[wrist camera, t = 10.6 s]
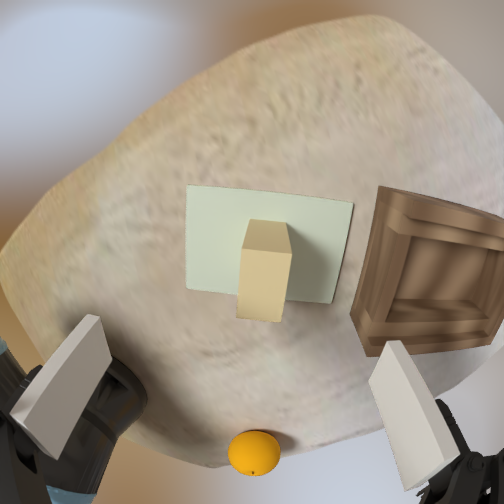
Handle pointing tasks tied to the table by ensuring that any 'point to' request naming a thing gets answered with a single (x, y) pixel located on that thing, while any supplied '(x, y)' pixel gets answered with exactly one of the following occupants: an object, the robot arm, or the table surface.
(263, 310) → the lid
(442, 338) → the case
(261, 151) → the table surface
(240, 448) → the orange
